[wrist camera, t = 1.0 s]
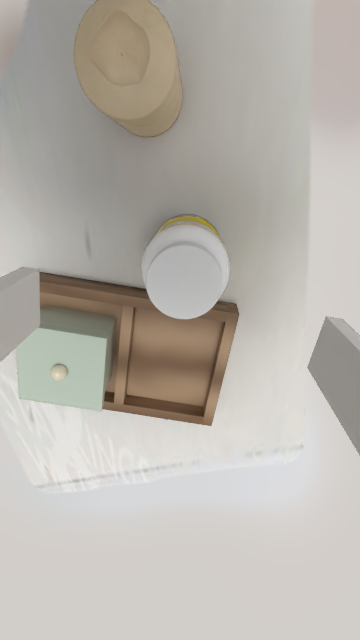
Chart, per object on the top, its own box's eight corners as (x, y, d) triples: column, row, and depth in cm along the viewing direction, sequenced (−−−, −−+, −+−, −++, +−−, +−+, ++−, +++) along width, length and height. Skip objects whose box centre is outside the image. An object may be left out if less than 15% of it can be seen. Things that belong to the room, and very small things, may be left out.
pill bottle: (182, 294, 31) (176, 348, 21) (139, 243, 30) (110, 277, 19) (235, 253, 30) (256, 292, 19) (193, 197, 28) (191, 208, 18)
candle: (112, 135, 26) (68, 112, 17) (110, 51, 24) (57, -28, 15) (180, 139, 26) (172, 118, 17) (184, 54, 24) (177, -23, 15)
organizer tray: (30, 270, 31) (17, 277, 29) (236, 304, 31) (239, 313, 29) (34, 382, 36) (23, 396, 34) (210, 410, 37) (211, 425, 34)
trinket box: (42, 302, 31) (7, 329, 26) (120, 314, 32) (103, 344, 26) (43, 368, 34) (12, 406, 29) (114, 379, 35) (98, 419, 29)
